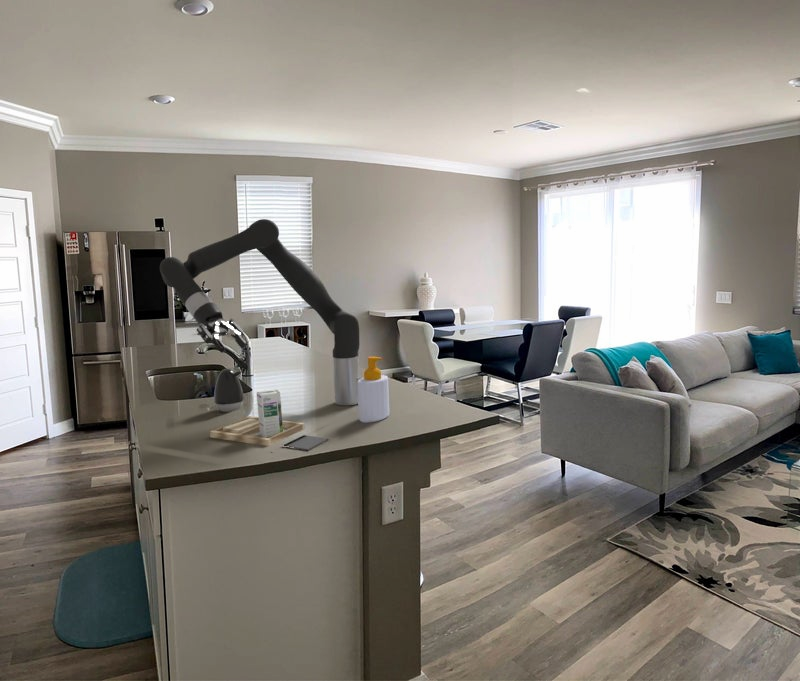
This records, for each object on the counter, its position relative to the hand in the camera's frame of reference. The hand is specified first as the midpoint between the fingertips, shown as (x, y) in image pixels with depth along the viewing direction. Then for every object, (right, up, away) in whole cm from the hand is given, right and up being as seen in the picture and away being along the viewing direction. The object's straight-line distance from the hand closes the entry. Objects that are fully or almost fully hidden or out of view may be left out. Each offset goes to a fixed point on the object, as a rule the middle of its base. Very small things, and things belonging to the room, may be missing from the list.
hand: (234, 348), depth 174 cm
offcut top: (+2, -25, +3) cm, 25 cm away
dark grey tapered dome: (-11, -23, +33) cm, 41 cm away
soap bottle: (+41, -23, +17) cm, 50 cm away
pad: (+22, -27, -7) cm, 36 cm away
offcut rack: (+7, -27, +1) cm, 28 cm away
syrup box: (+11, -27, -1) cm, 29 cm away
